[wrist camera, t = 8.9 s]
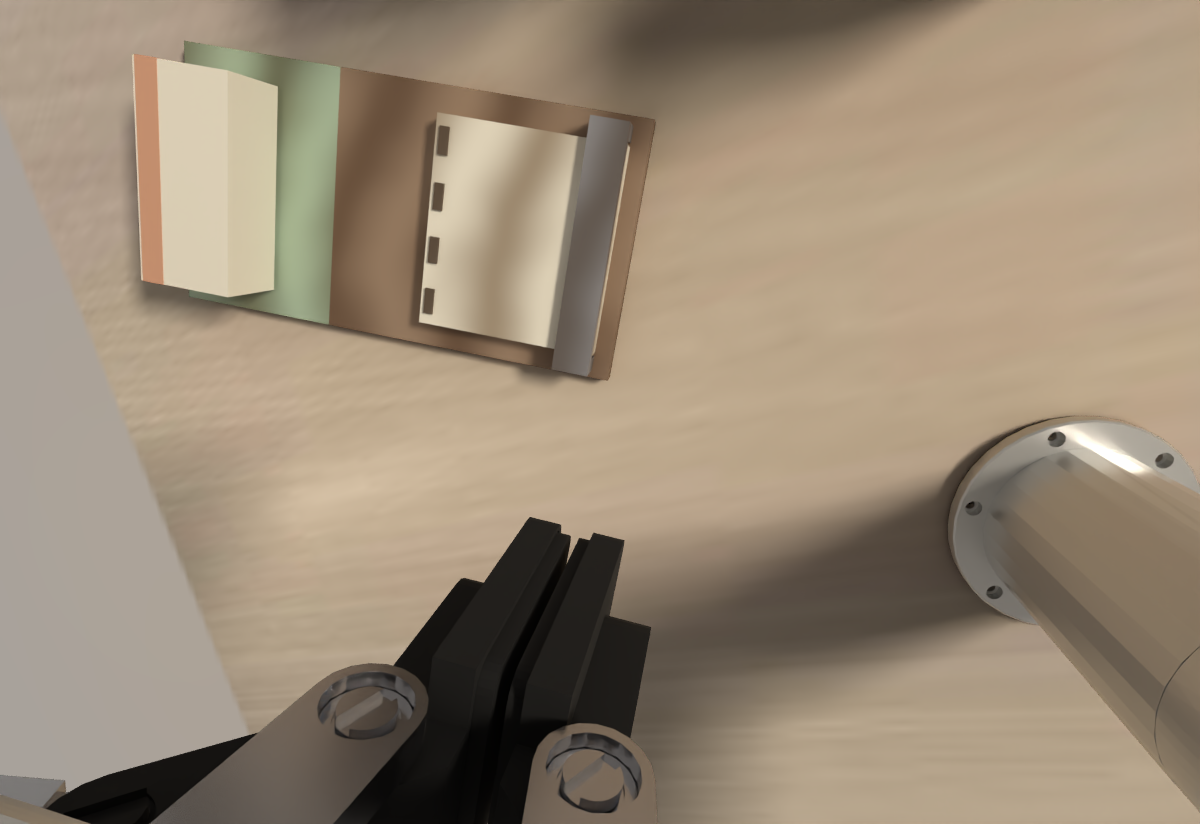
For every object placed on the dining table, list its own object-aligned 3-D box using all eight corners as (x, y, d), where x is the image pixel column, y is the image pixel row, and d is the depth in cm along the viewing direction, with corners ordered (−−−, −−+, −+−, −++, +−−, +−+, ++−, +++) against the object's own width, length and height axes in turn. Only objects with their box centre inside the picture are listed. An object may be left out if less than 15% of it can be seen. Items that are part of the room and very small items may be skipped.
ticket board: (655, 122, 34) (652, 113, 32) (609, 376, 39) (603, 388, 36) (197, 45, 37) (156, 31, 34) (200, 294, 41) (164, 300, 38)
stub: (278, 86, 35) (227, 69, 31) (274, 290, 39) (227, 297, 35) (192, 71, 36) (131, 53, 32) (195, 274, 39) (141, 280, 35)
